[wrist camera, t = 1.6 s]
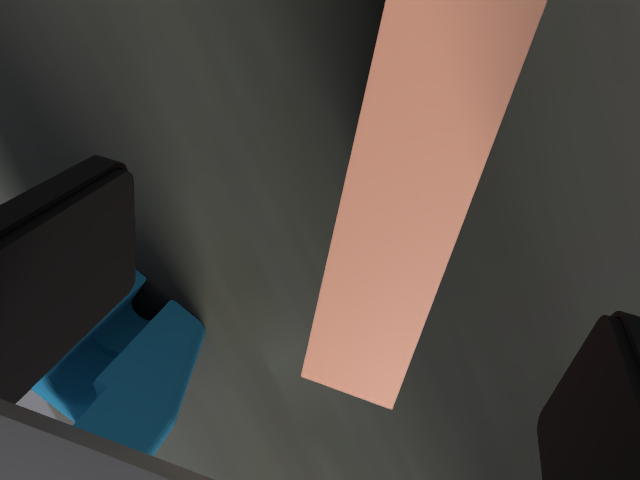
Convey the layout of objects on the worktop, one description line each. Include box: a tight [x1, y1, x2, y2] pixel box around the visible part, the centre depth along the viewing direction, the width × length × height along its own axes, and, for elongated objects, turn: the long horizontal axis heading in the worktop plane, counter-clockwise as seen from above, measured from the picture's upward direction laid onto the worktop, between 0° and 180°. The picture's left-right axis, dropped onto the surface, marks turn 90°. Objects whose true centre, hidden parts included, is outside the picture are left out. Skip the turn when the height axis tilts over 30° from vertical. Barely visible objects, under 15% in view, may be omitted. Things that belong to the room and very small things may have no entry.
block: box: [31, 270, 205, 456], centre depth 26 cm, size 12×5×20 cm, turn 52°
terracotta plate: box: [301, 0, 547, 410], centre depth 18 cm, size 3×12×12 cm, turn 170°
